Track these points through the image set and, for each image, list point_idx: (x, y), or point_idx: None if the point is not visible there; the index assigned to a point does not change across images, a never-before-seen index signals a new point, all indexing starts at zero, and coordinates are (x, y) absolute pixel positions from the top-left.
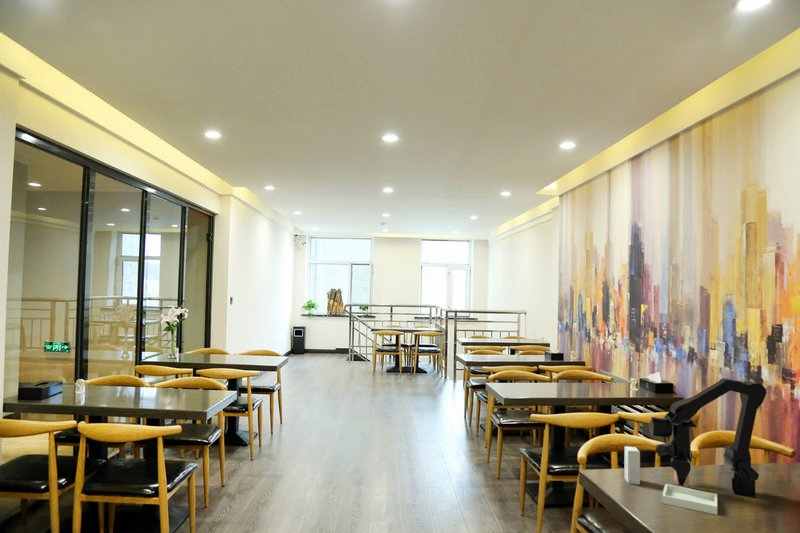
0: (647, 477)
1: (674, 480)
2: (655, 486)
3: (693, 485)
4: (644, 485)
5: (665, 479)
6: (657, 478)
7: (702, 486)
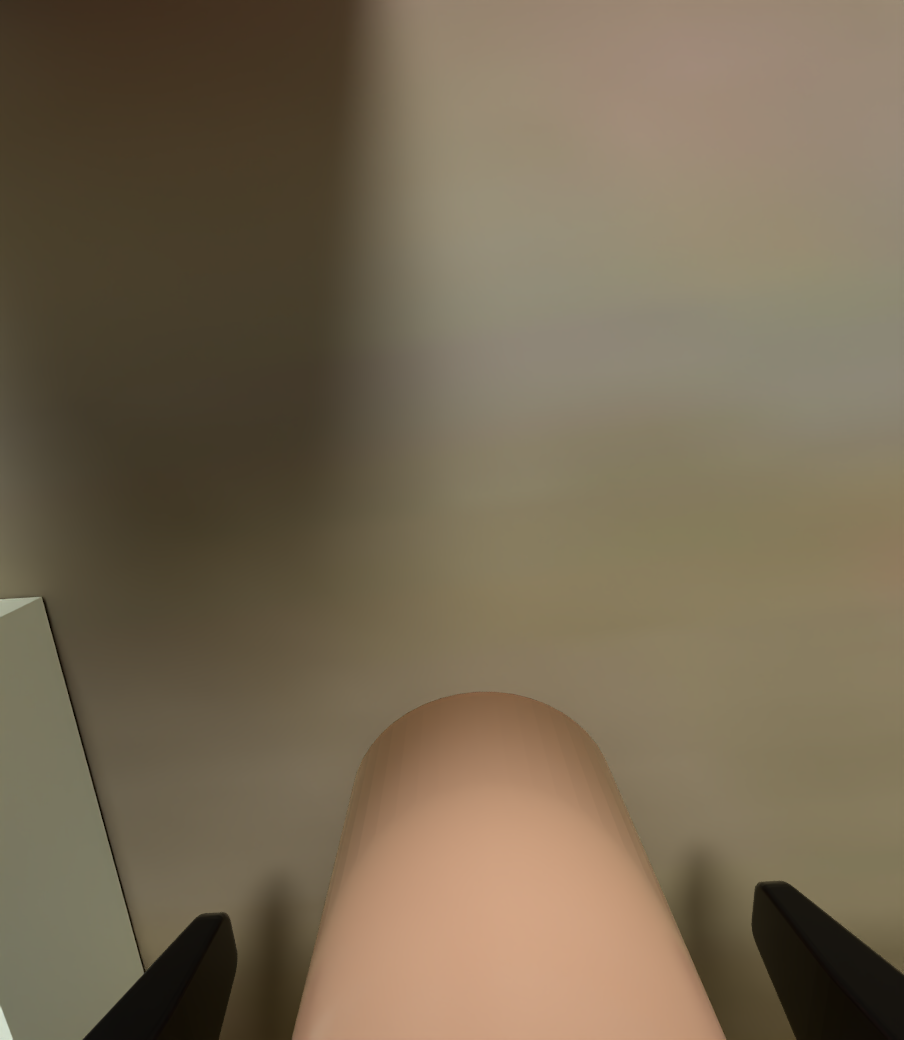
0: (752, 68)
1: (416, 810)
2: (174, 376)
3: (738, 934)
4: (30, 118)
5: (828, 494)
6: (807, 324)
7: (767, 1032)
